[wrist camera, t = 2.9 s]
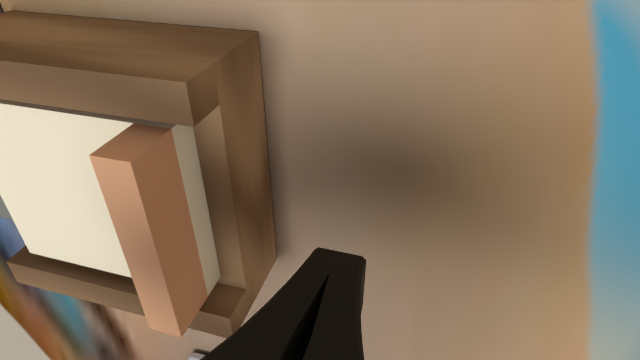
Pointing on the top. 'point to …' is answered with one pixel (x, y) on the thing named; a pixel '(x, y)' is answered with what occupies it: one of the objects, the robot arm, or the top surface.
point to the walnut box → (161, 106)
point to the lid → (113, 202)
